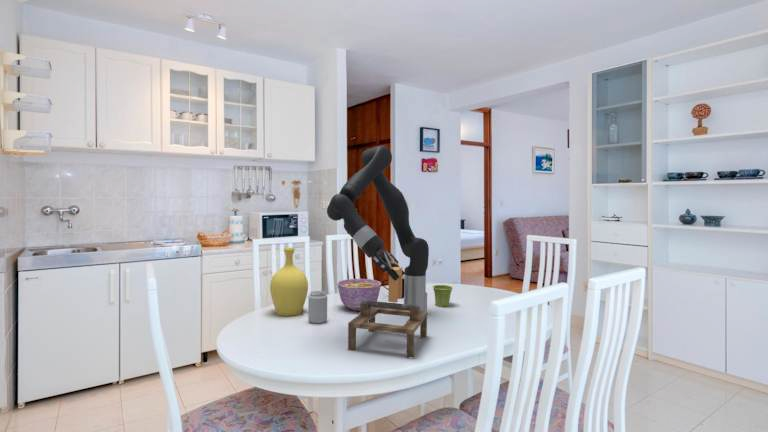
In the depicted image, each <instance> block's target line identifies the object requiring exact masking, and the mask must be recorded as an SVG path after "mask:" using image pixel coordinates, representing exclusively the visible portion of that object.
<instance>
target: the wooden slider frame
mask: <svg viewBox="0 0 768 432" xmlns="http://www.w3.org/2000/svg"><path fill="white" fill-rule="evenodd" d="M378 314H379V315H381V314H383V315H391V316H401V317H403V316H404V317H409V318H408V319H407V321H406V322H405V324H403V325H399V324H398V325H397V324H388V323H382V322H381V323H379V322H376V315H378ZM347 326H348V327H347V330H348V331H347V345H348V346H347V350H349V351H355V349H356V348H357V329H362V330H367V331H368V332H373V333H374V332H375V331H379V332H386V333H387V332H388V333H396V334H405V335H406V358H409V357H413V358H414V357H415V332H416V331H417V330H418V328H419V330H420V331H419V335H420V336H421V337H420V336H419V337H420V338H423V337H427V336H428V311H427V312H424V311H420V307H419V306H418V305H409V304H404V303H398V302H397V303H396V302H388V301H377V302H376V301H366V300H363V301H362V303H361V304H360V311H359V314H358V315H357V316H355V317H354V318H352V319H350V321H349V322H347Z"/></svg>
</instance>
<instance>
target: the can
mask: <svg viewBox="0 0 768 432" xmlns="http://www.w3.org/2000/svg"><path fill="white" fill-rule="evenodd" d="M307 296H308V299H307V301H308V302H307V303H308V310H307V311H308V315H307V317H308V319H307V320H308V321H309V322H310V323H311V324H316V325H317V324H324V323H326V321H327V319H328V295H327V294H326V291H324V290H315V291H311V292H309V295H307Z"/></svg>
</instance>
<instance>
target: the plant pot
mask: <svg viewBox="0 0 768 432" xmlns="http://www.w3.org/2000/svg"><path fill="white" fill-rule="evenodd" d="M432 289H433V292H434V299H435V300H434V302H435V305H436V306H437V307H440V306H442V308H443V307H445V306H447V307H449V306H448V305H450V300H451V294H452V290H453V289H454V287H453V286H450V285H446V284H435V285H433V286H432Z"/></svg>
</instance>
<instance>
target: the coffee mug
mask: <svg viewBox="0 0 768 432" xmlns="http://www.w3.org/2000/svg"><path fill="white" fill-rule="evenodd" d="M384 282H388V283H389V279H384V280H382V282H381V286H383V288H385V289H386V290H389V287H386V286H385V285H384ZM401 299H404V275H403V276H402V298H401Z"/></svg>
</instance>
